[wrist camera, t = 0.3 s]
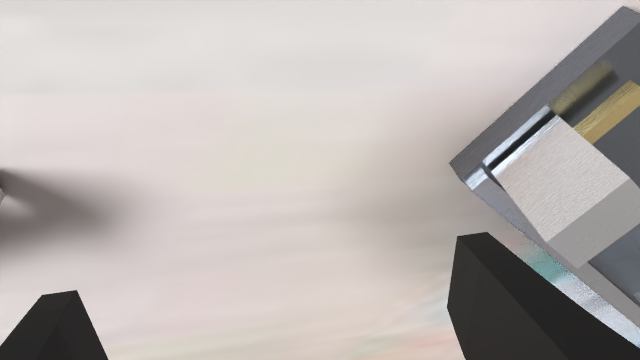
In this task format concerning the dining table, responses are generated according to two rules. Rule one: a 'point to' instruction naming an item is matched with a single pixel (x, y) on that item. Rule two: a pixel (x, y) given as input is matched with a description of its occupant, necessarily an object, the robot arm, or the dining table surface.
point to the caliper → (1, 195)
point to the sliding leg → (575, 182)
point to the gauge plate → (617, 144)
